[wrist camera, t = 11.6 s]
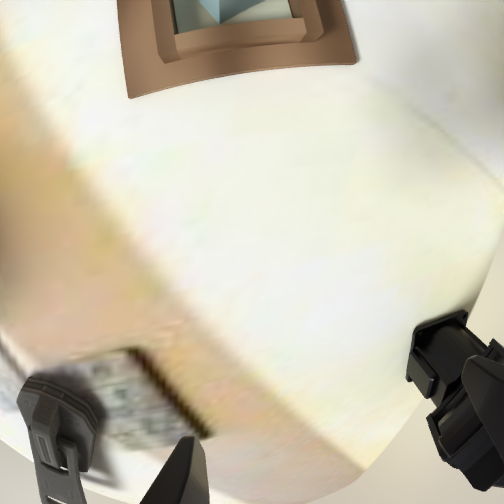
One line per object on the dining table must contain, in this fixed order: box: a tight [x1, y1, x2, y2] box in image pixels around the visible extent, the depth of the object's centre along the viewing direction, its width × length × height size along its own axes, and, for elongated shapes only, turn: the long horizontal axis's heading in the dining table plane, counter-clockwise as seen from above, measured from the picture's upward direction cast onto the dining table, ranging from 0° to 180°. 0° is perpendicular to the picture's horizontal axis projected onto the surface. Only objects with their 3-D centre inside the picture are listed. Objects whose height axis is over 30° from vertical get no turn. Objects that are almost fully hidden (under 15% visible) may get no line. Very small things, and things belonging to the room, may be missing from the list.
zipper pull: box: [16, 377, 99, 504], centre depth 23 cm, size 9×7×25 cm
